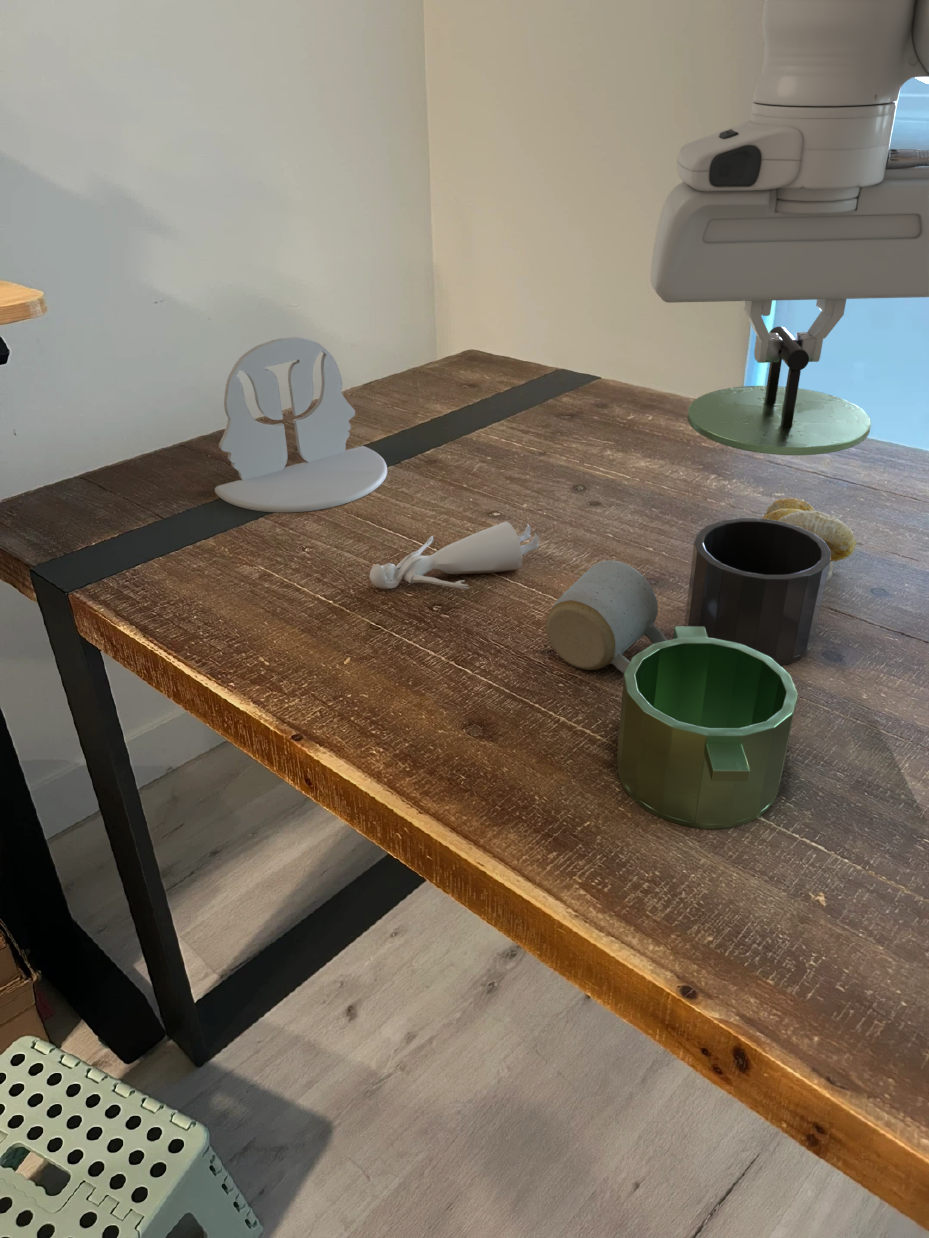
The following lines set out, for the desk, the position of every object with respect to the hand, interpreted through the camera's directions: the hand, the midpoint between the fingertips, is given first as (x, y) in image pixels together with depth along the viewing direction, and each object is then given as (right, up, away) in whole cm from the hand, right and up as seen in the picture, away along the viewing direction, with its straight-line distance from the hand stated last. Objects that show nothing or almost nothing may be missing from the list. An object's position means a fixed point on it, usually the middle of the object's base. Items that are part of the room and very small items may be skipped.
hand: (785, 360), depth 71 cm
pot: (-6, -31, +3) cm, 31 cm away
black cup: (+3, -20, +20) cm, 29 cm away
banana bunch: (+12, -13, +32) cm, 36 cm away
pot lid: (0, -4, +2) cm, 5 cm away
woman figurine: (-25, -14, +31) cm, 42 cm away
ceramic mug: (-10, -22, +17) cm, 30 cm away
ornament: (-42, -3, +50) cm, 65 cm away
